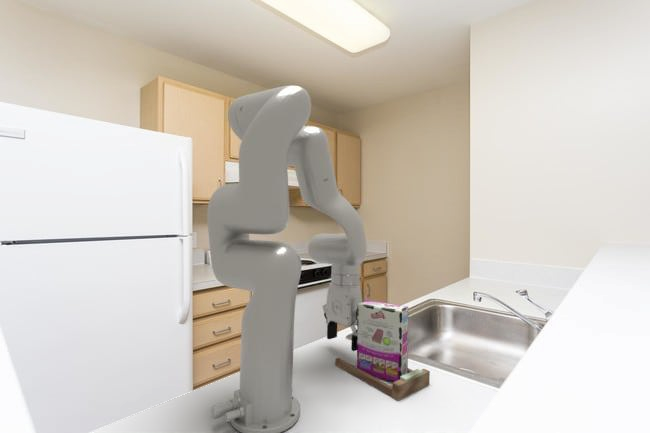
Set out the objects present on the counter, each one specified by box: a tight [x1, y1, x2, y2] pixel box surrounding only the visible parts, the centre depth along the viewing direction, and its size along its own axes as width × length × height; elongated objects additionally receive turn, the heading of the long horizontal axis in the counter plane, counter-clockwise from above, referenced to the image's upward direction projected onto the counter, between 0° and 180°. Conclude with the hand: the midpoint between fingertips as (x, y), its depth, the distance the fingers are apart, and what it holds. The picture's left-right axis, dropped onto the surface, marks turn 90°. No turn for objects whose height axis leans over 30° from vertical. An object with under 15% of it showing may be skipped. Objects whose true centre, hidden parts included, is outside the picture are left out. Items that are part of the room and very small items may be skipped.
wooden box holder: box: [334, 357, 431, 401], centre depth 76 cm, size 11×20×4 cm, turn 39°
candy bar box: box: [356, 299, 409, 383], centre depth 75 cm, size 11×5×16 cm, turn 57°
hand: (343, 343), depth 86 cm, fingers open, 9 cm apart
